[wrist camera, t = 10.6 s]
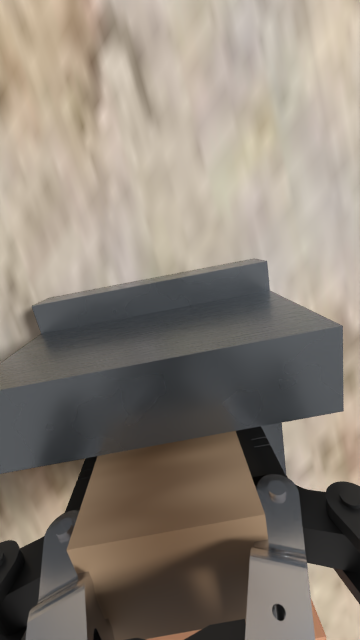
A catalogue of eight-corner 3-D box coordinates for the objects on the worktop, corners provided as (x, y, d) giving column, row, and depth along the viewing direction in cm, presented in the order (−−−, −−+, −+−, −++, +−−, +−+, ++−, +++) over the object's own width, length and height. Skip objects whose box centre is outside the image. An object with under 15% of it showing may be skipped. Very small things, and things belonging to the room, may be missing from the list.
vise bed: (254, 258, 15) (342, 275, 8) (284, 551, 22) (346, 718, 14) (48, 298, 15) (-72, 354, 8) (141, 577, 22) (127, 754, 14)
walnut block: (216, 376, 13) (264, 514, 7) (227, 441, 14) (278, 616, 8) (117, 394, 13) (66, 550, 7) (136, 458, 14) (108, 646, 8)
